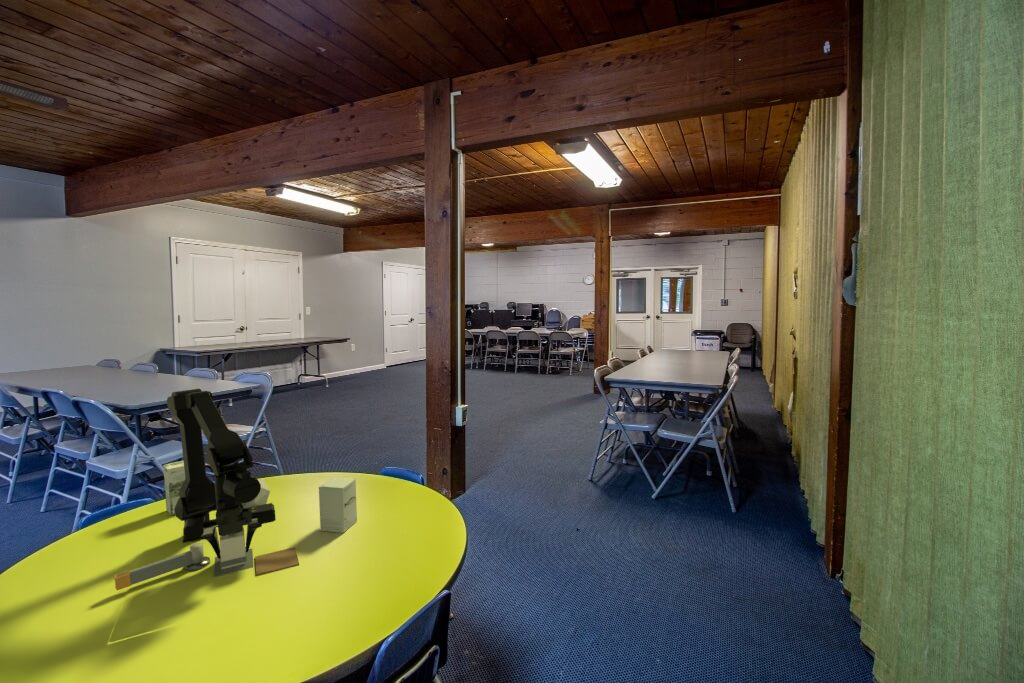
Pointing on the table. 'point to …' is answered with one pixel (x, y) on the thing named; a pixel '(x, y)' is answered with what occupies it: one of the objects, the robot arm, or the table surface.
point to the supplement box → (337, 504)
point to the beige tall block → (232, 550)
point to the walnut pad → (276, 561)
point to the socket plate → (220, 571)
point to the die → (259, 496)
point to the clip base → (198, 565)
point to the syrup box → (173, 484)
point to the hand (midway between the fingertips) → (233, 554)
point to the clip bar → (160, 567)
